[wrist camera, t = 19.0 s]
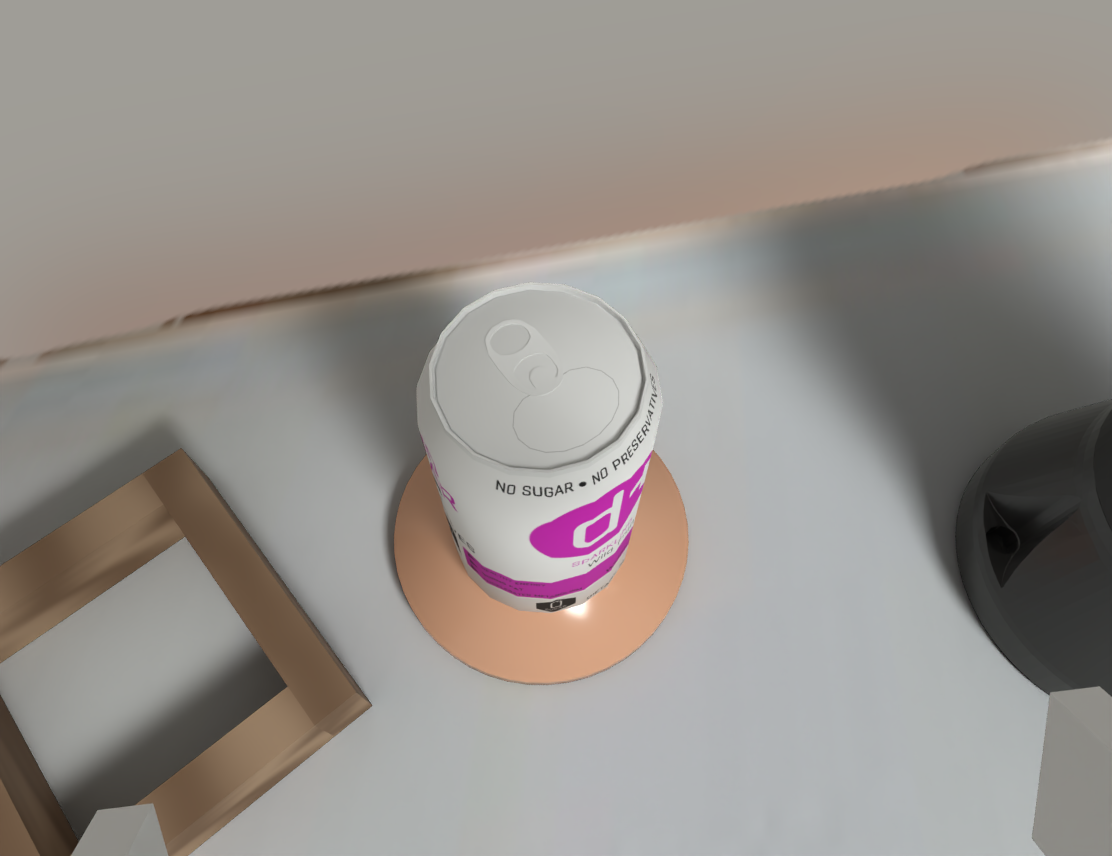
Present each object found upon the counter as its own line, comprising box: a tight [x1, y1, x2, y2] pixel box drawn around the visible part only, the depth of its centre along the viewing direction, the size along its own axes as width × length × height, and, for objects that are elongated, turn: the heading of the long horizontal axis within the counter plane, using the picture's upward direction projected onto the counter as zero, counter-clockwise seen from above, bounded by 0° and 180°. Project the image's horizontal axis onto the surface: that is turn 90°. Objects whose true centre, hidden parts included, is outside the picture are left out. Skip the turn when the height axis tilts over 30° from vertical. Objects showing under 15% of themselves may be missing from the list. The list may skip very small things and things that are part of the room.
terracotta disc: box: [394, 450, 688, 685], centre depth 41 cm, size 14×14×1 cm
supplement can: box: [416, 282, 663, 613], centre depth 33 cm, size 8×8×15 cm
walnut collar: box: [0, 448, 372, 856], centre depth 36 cm, size 14×14×4 cm
